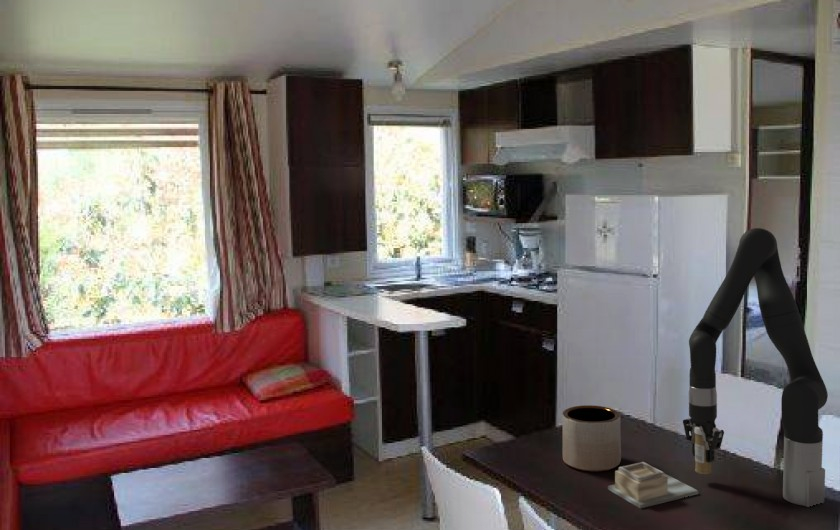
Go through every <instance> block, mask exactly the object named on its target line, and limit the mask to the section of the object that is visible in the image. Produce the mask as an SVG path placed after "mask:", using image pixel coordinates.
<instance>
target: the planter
mask: <svg viewBox="0 0 840 530" xmlns="http://www.w3.org/2000/svg"><path fill="white" fill-rule="evenodd" d="M621 438H622V437H621V414H620V412H619V411H618V410H615V409H613V408H611V407H606V406H602V405H592V404H591V405H590V404H589V405H587V404H585V405H576V406H570V407H567V408H566V409H564V410H563V411H562V460H563V462H564V463H565V464H566V465H568V466H569V467H571V468H574V469H577V470H580V471H583V472H584V471H585V472H605V471H609V470H613V469H614V468H616V467H618V466H619V465H620V463H621V460H622V447H621V442H622V441H621V440H622V439H621Z"/></svg>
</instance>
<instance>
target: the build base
mask: <svg viewBox="0 0 840 530" xmlns="http://www.w3.org/2000/svg"><path fill="white" fill-rule="evenodd" d="M607 490H609V491H610V492H611V493H612V494H615V495H617V497H620V498H622V499H623V500H625V501H626V502H629V503H631V505H634V506H635V507H636V508H638V509H644V508H648V507H652V506H655V505H660V504H664V503H667V502H671V501H676V500H680V499H684V497H685V498H688V496H689V497H692V496H695V495H699V490H697V489H696V488H694V487H692V486H691V485H688V484H686V483H684V482H682V481H680V480H678V479H676V478H674V477H672V476H671V475H668V474H666V473H665V472H664V471H662V470H660V469H658V468H656V467H654V466H652V465H650V464H649V463H646V462H644V461H640V462H636V463H632V464H628V465H622V466H619V467H618V469H617V470H615V471H614V484H610V485H608V486H607Z"/></svg>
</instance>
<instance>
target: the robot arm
mask: <svg viewBox="0 0 840 530" xmlns="http://www.w3.org/2000/svg"><path fill="white" fill-rule="evenodd" d="M737 246H738V247H737V249H736V251H735V256H734V258H733V261H732V263H731V265H730V267H729V270H728V272H727V273H726V275H725V277H724V279H723V281H722V282H721V284H720V286H719V288H718V289H717V291H716V293H715V294H714V296H713V297H712V300H710V303H709V305H708V307H707V308H706V310H705V312H704V314H703V316H702V318H701V319H700V321H698V324H697V325H696V327H695V328H694V329H693V331H692V333H691V334H690V336H689V339H688V346H689V354H690V355H689V356H690V357H689V358H690V368H689V386H688V387H689V390H688V416H689V417H690V418H685V419H683V420H682V424H683V429H684V433H685V438H686V440H687V441H689V442H690V443H691V453H692V456H693V457H694V458H695V432H694V429H695V427H699V428H700V430H701V432H702V439H703V442H705V446H706V449H707V450H706V462H708V463H710V462H711V463H713V462H714V461H715V450H719V449H721V446H722V443H723V440H724V436H725V431H724V430H723V429H719V428H718V427H717V425H716V419H717V417H718V394H717V393H718V392H717V387H716V386H717V381H716V380H717V376H716V375H717V374H716V363H717V341H718V339H719V338H720V336H721V334H722V333H723V331H724V330H726V329H727V328H728V327H729V325H730V324H731V322H732V319H733V318H734V316H735V314H736V313H737V311H738V310H739V307H740V306H741V303H742V300H743V298H744V296H745V294H746V292H747V289H748V287H749V285H750V283H751V281H752V279H753V278H754V281H755V284H756V285H755V286H756V293H757V299H758V300H757V301H758V307H759V310H760V315H761V319H762V321H763V326H764V329H765V331H766V334H767V336H768V337H769V338H768V339H769V340H770V341H771V343H772V345H773V346H774V347H775V348H776V349H777V351H778V352H779V354H780V355H781V356H782V358H783V360H784V362H785V365H786V367H787V371H788V374H789V377H790V383H788V384H787V385H786V386H785V387H784V388H783V390H782V393H781V399H780V400H781V401H780V402H781V403H780V404H781V405H780V406H781V425H782V428H783V432H784V433H783V468H782V469H783V470H782V473H783V475H782V477H783V478H782V498H783V499H784V500H786V501H787V502H790V503H792V504H793V505H798V506H803V507H806V508H810V506H811V507H814V506H813V505H815V506H817V505H816V504H818V505H821V504H820V503H822V504H824V503H825V491H826V490H825V489H826V487H825V486H826V469H825V468H824V467H823V439H824V433H823V431H824V430H823V429H822V428H821V427H820V426H819V410H820V409H822V408H823V407H824V406H825V405H826V404H827V402H828V397H829V396H828V395H829V394H828V390H827V387H826V384H825V382H824V380H823V377H822V375H821V373H820V371H819V369H818V366H817V363H816V362H815V359H814V356H813V353H812V351H811V347H810V343H809V340H808V337H807V334H806V331H805V327H804V323H803V321H802V316H801V314H800V311H799V308H798V305H797V302H796V300H795V298H794V295H793V292H792V291H791V288H790V286H789V284H788V281H787V280H786V278H785V275H784V272H783V268H782V264H781V259H780V255H779V249H778V241H777V239H776V237H775V235H774V234H773V233H772V232H771V231H769V230H767V229H765V228H761V227H756V228H755V227H753V228H750V229H748V230H747V231H745V232H744V233H743V234H742V235H741V237H740V238H739V243H738V245H737ZM707 437H710V438H708V439H707ZM709 441H710V443H711V445H710V444H709Z"/></svg>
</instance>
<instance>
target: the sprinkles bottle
mask: <svg viewBox="0 0 840 530" xmlns="http://www.w3.org/2000/svg"><path fill="white" fill-rule="evenodd" d="M694 432H695V457H694V460H695V461H694V462H695V463H694V464H695V468H694V470H695V472H696V473H698V474H701V475H710V474H711V473H712V462H710V463H708V462H706V450H707V449H706V446H705V442H703V439H702V432H701V430H700V428H699V427H695V429H694ZM708 438H710V437H707V439H708ZM709 444H710V445H711V443H710V441H709Z"/></svg>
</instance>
